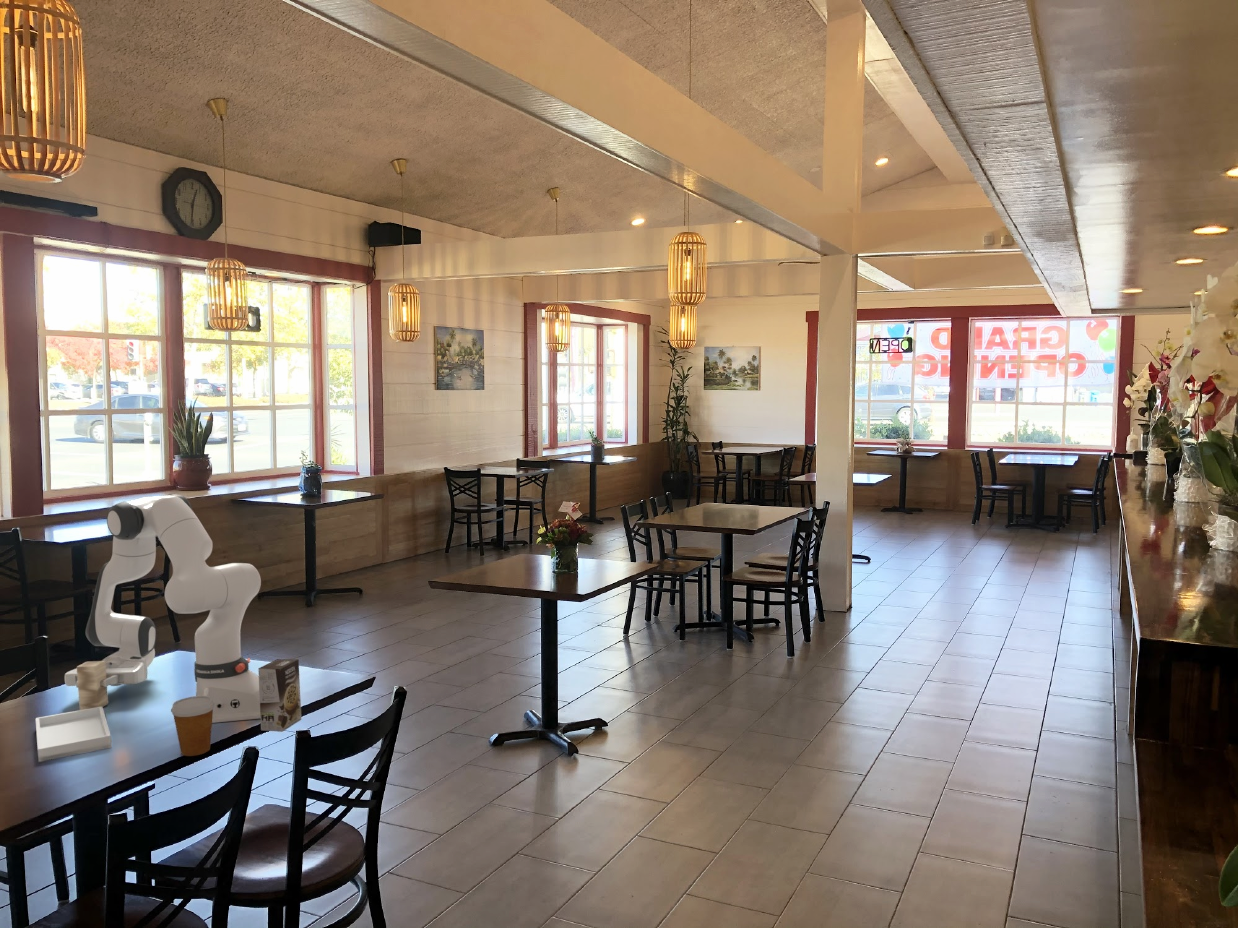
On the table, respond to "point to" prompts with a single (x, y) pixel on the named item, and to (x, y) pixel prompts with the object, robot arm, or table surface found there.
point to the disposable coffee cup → (193, 724)
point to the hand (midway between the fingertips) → (90, 684)
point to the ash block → (91, 684)
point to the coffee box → (279, 694)
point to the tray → (72, 733)
